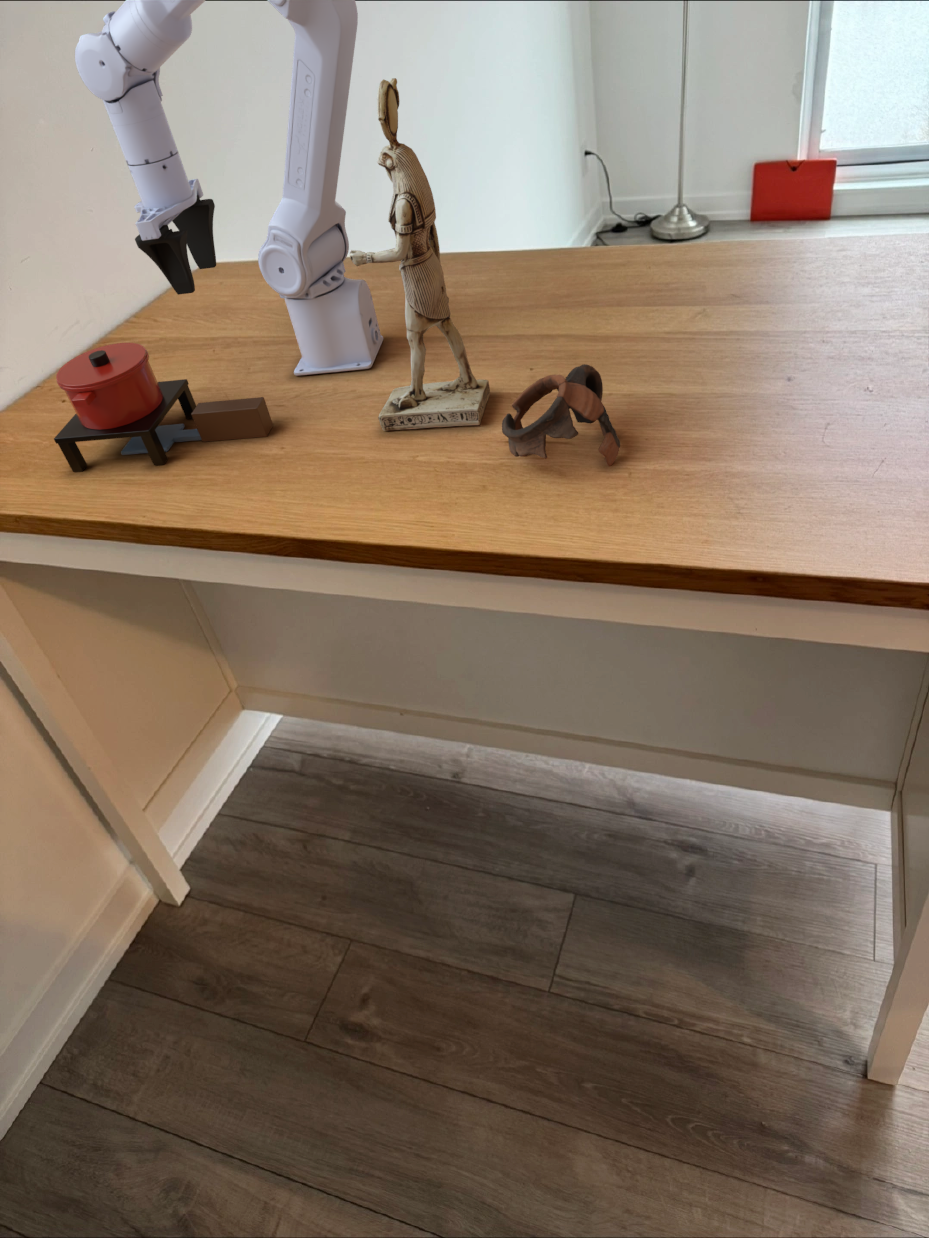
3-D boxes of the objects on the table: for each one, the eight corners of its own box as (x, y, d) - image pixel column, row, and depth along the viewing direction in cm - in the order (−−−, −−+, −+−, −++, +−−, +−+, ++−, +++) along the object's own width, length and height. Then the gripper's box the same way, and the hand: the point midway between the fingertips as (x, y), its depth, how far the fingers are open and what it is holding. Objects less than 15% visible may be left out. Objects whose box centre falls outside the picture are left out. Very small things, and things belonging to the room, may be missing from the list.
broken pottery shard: (612, 490, 76) (556, 426, 72) (532, 510, 83) (477, 453, 79) (648, 392, 81) (598, 327, 77) (570, 419, 88) (520, 360, 84)
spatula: (277, 418, 96) (267, 390, 93) (263, 443, 92) (253, 414, 90) (140, 430, 99) (128, 403, 97) (121, 455, 95) (108, 427, 93)
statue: (397, 397, 95) (323, 81, 75) (492, 391, 92) (441, 62, 72) (381, 432, 89) (297, 103, 70) (481, 427, 87) (423, 84, 67)
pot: (202, 409, 100) (167, 322, 93) (162, 469, 91) (120, 378, 84) (116, 417, 102) (76, 333, 96) (68, 476, 93) (20, 388, 87)
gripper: (145, 144, 102) (188, 260, 111) (91, 183, 92) (143, 308, 101) (200, 135, 101) (239, 254, 110) (152, 174, 90) (200, 301, 99)
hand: (197, 279), depth 105 cm, fingers open, 7 cm apart
